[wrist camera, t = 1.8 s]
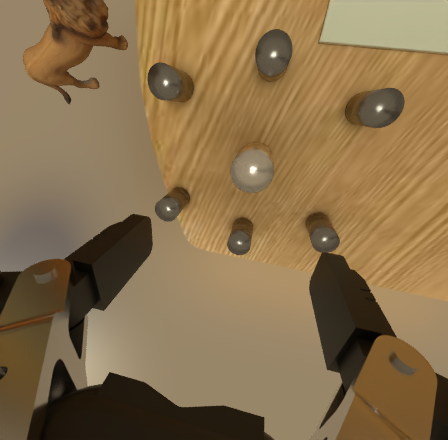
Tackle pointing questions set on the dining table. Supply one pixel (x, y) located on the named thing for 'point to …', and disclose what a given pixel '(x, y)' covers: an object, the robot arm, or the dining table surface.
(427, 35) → the sage mat
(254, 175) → the clear rounded cylinder
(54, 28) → the lion figurine
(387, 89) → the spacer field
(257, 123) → the dining table surface
